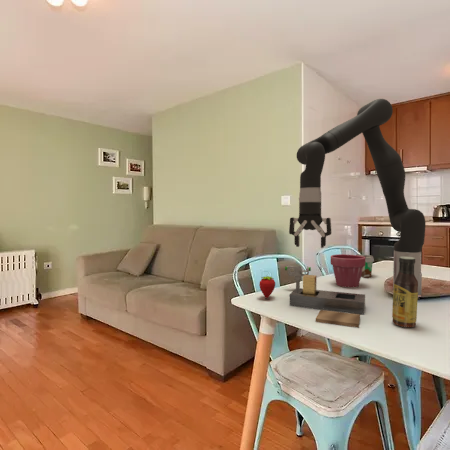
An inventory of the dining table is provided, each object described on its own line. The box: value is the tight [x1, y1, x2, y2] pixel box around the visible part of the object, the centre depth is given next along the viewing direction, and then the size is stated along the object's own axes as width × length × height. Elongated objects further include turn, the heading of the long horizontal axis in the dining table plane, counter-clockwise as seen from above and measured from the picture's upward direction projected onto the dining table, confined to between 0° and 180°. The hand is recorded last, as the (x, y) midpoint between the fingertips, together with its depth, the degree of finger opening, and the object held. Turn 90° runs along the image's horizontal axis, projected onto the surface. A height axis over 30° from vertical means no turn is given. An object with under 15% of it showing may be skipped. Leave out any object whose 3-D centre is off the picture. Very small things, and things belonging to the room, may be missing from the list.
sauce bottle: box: [391, 256, 419, 328], centre depth 94 cm, size 7×6×20 cm
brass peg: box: [302, 274, 317, 296], centre depth 116 cm, size 4×4×10 cm
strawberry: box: [258, 273, 276, 299], centre depth 123 cm, size 6×8×10 cm
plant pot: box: [330, 253, 365, 289], centre depth 142 cm, size 14×14×13 cm
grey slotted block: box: [289, 287, 366, 315], centre depth 113 cm, size 24×10×4 cm, turn 65°
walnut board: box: [315, 309, 361, 328], centre depth 100 cm, size 12×9×1 cm
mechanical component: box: [284, 265, 312, 289], centre depth 134 cm, size 3×10×10 cm, turn 78°
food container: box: [355, 253, 375, 279], centre depth 160 cm, size 12×6×10 cm, turn 179°
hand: (309, 247), depth 115 cm, fingers open, 8 cm apart
